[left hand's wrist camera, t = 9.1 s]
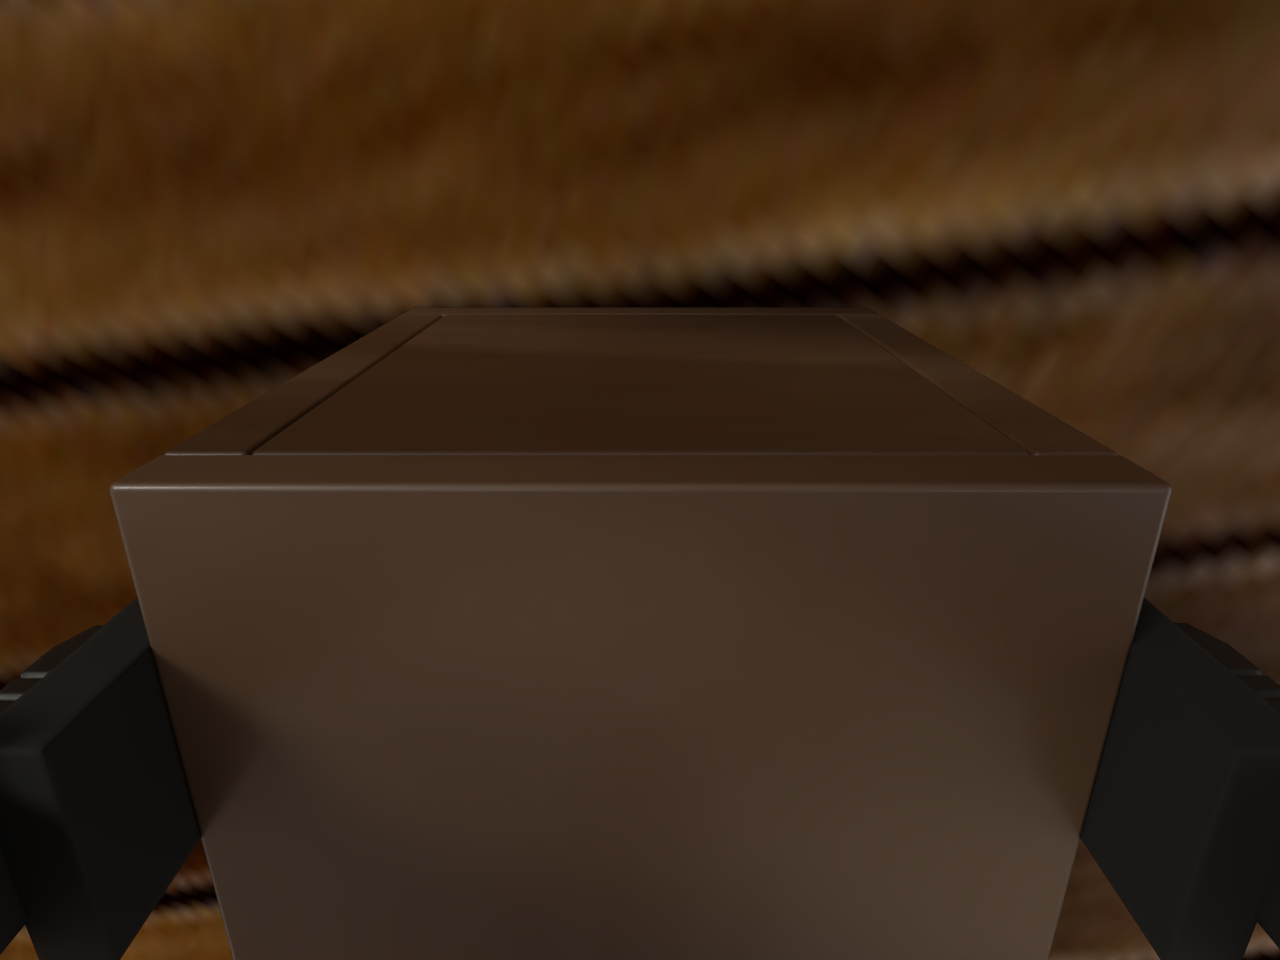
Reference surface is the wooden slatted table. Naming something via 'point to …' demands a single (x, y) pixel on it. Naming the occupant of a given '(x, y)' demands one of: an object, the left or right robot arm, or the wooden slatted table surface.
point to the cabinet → (640, 641)
